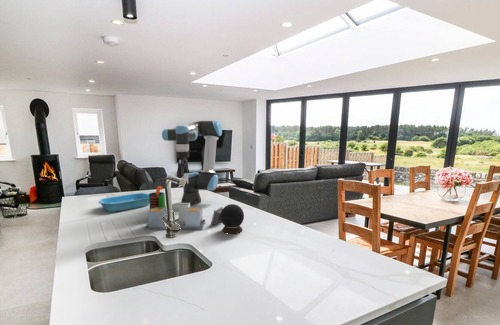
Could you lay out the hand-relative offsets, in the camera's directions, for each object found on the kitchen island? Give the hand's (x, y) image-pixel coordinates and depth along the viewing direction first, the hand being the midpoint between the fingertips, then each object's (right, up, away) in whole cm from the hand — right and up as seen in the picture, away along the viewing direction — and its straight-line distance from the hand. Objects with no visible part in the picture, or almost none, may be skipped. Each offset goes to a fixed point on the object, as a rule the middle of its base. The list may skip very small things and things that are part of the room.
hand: (183, 185), depth 162 cm
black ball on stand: (+31, -24, -16) cm, 42 cm away
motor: (-18, -21, +7) cm, 29 cm away
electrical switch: (+22, -23, -3) cm, 32 cm away
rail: (-2, -23, -9) cm, 25 cm away
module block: (0, -22, +3) cm, 22 cm away
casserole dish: (-49, -19, +31) cm, 61 cm away
